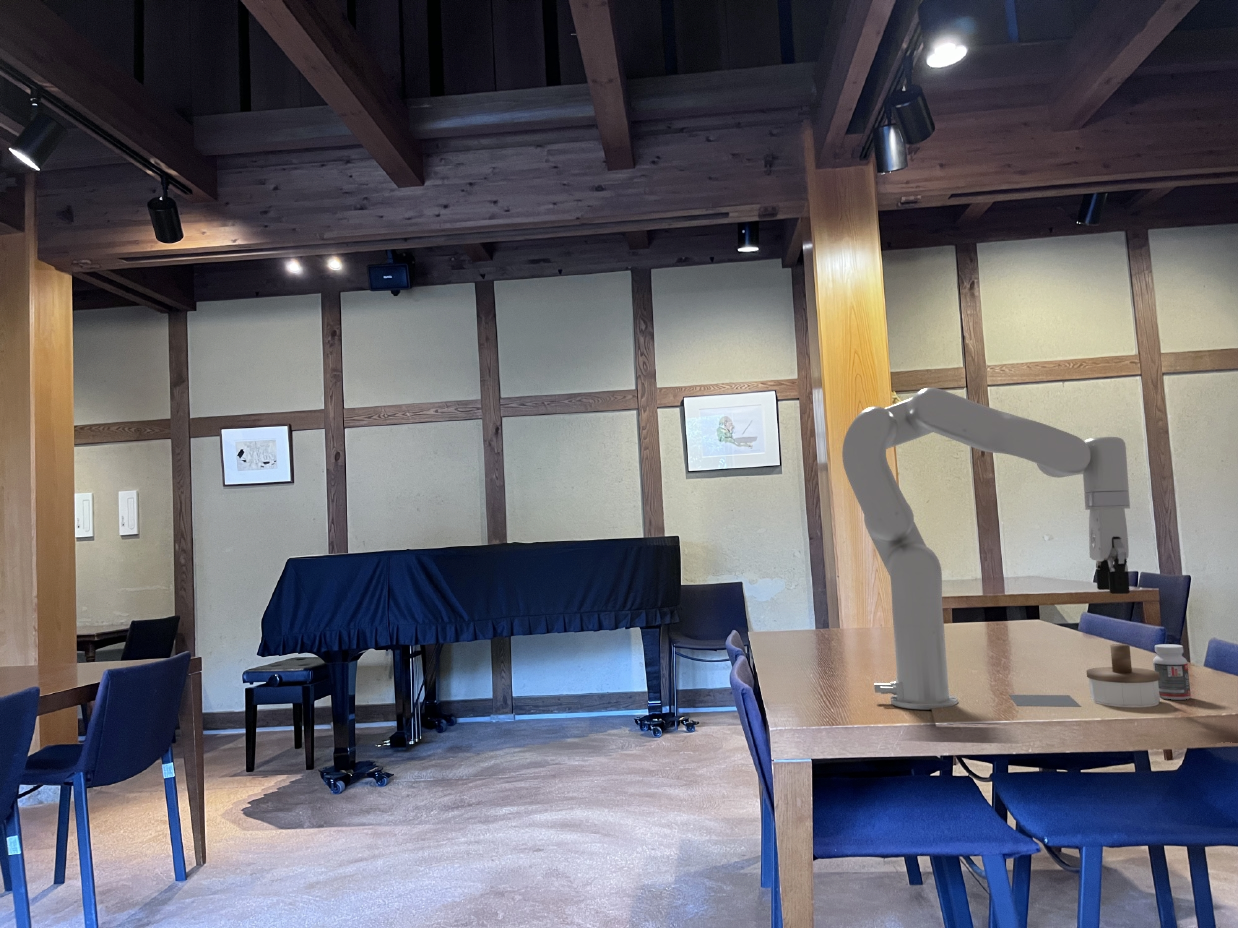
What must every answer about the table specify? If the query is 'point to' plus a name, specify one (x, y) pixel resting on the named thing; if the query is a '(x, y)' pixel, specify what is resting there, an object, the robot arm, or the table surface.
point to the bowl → (1124, 693)
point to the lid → (1122, 668)
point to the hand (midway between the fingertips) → (1113, 591)
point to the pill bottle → (1172, 672)
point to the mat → (1044, 700)
